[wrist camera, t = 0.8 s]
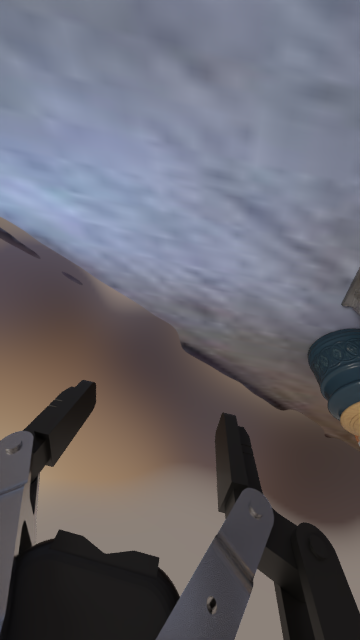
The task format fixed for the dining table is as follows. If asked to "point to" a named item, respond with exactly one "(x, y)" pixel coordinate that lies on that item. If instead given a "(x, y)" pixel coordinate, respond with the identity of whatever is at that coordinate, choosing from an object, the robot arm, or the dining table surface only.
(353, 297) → the collar stand
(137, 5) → the dining table surface
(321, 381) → the canister
